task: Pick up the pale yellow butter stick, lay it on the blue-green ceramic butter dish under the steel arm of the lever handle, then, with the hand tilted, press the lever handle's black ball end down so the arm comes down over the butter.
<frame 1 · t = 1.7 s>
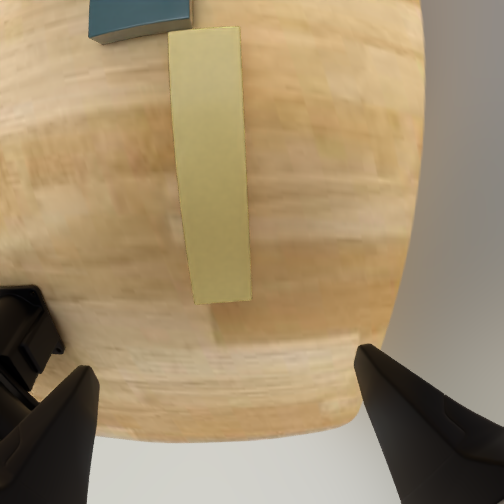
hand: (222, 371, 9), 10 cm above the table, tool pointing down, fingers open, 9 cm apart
butter: (212, 163, 17), on the table
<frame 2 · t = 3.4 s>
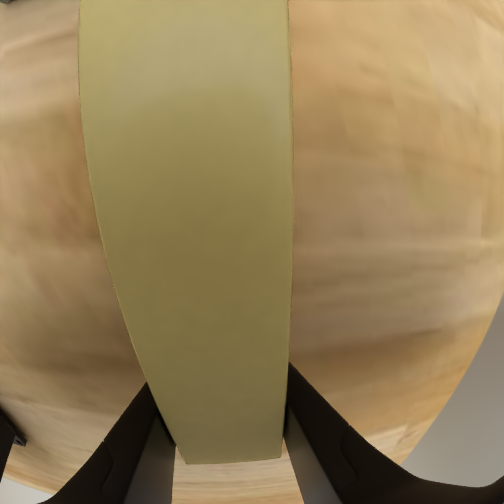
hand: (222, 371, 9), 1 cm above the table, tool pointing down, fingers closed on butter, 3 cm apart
butter: (206, 224, 8), on the table, touching gripper
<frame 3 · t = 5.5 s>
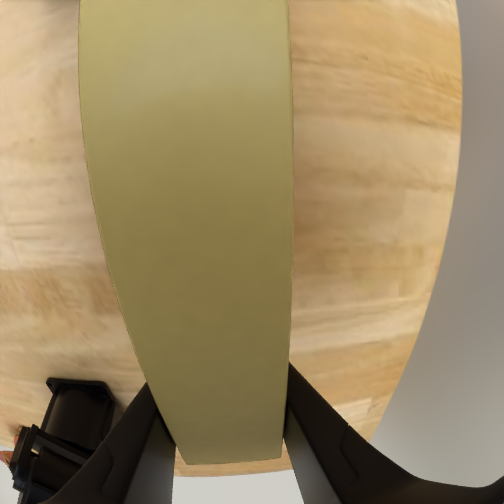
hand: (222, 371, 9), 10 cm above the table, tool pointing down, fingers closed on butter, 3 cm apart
butter: (206, 225, 8), point 9 cm above the table, touching gripper
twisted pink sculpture: (35, 441, 28), on the table
when the fingers open (3 cm above the table, at t = 7.9 s): butter stays where it is, resting on butter dish.
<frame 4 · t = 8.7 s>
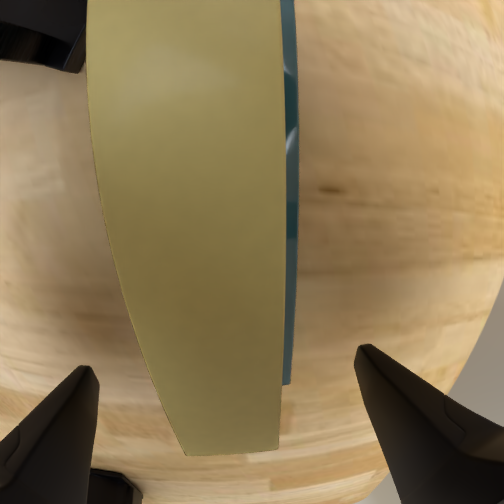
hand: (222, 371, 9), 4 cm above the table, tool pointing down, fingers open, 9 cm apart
butter: (205, 222, 9), point 2 cm above the table, touching butter dish
butter dish: (209, 201, 11), on the table
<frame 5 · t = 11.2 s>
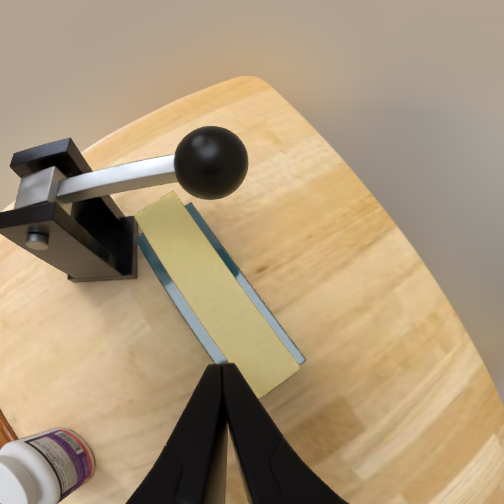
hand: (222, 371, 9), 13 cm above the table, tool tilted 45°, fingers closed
slicer stand: (104, 252, 24), on the table
butter: (213, 297, 21), point 2 cm above the table, touching butter dish
lever handle: (119, 178, 14), point 11 cm above the table, hinge at 6.0°
pill bottle: (70, 454, 18), on the table
butter dish: (216, 302, 23), on the table
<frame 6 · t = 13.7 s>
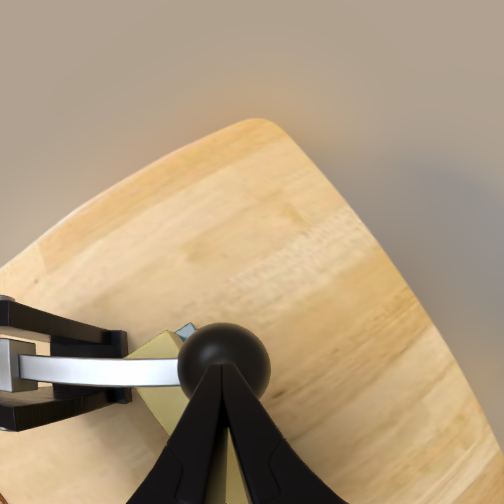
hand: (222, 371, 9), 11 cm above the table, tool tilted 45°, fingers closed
slicer stand: (91, 366, 19), on the table
butter: (224, 440, 16), point 2 cm above the table, touching butter dish
lever handle: (101, 372, 10), point 9 cm above the table, hinge at -6.7°, touching gripper
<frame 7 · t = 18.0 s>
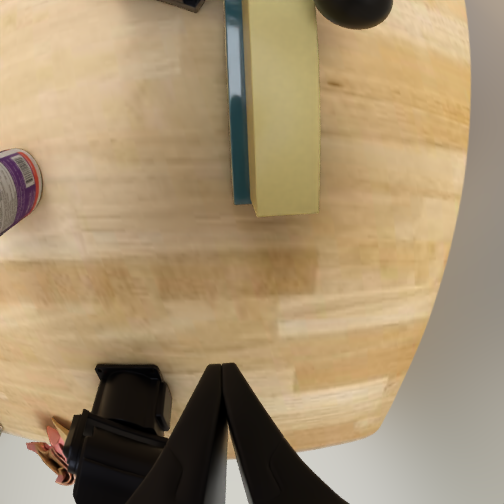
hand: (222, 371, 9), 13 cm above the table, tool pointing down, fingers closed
butter: (274, 79, 15), point 2 cm above the table, touching butter dish
pill bottle: (18, 181, 18), on the table
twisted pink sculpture: (65, 431, 31), on the table
butter dish: (268, 84, 17), on the table
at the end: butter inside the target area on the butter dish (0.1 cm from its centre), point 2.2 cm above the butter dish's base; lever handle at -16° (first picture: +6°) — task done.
